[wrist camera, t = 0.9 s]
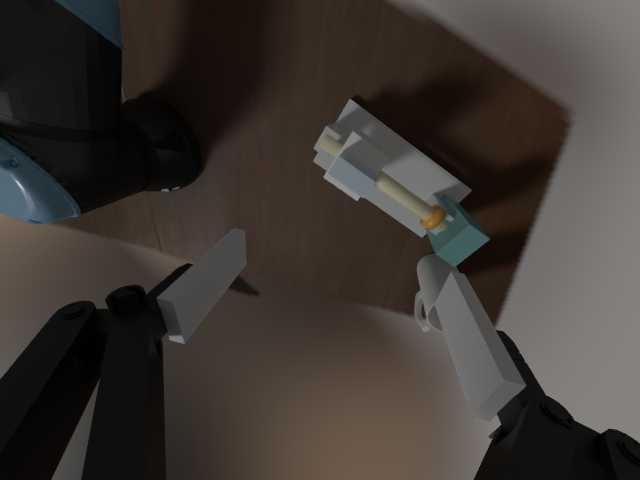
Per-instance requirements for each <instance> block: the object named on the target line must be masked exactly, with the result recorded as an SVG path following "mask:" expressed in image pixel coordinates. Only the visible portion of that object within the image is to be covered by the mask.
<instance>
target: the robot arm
mask: <svg viewBox="0 0 640 480" xmlns="http://www.w3.org/2000/svg"><path fill="white" fill-rule="evenodd" d="M122 50H124V46H123V44H122V42H121V26H120V9H119V5H118V3H117V0H0V212H2V213H3V214H5V215H7V216H9V217H12V218H14V219H17V220H19V221H23V222H27V223H32V224H46V223H51V222H54V221H58V220H61V219H65V218H68V217H76V216H79V215H80V214H83V213H86V212H88V211H91V210H94V209H96V208H99V207H102V206H104V205H107V204H110V203H112V202H115V201H118V200H120V199H123V198H126V197H128V196H131V195H133V194H136V193H139V192H142V191H175V190H179V189H181V188H184V187H186V186H188V185H190V184H191V183H192V182H193V181H194V180H195V178H196V177H197V175H198V172H199V168H200V152H199V147H198V144H197V141H196V138H195V136H194V134H193V132H192V130H191V128H190V127H189V125H188V124H187V122H186V121H185V120H184V119H183V118H182V116H181V115H180V114H179V113H178V112H176V111H175V110H174V109H173V108H171V107H170V106H168V105H167V104H165V103H163V102H161V101H158V100H154V99H144V98H135V99H129V100H126V101H124V102H122V103H121V78H122ZM245 265H246V244H245V230H241V229H236V228H233V229H232V230H231V231H230V232H229V233H228V234H227V235H226V236H225V237H223V238H222V239H221V240H220V241H219V242H218V243H217V244H216V245H215V246H213V247H212V248H211V249H210V250H209V251H208V252H207V253H206V254H205V255H204V256H202V257H201V258H200V259H199V260H198V261H197V262H196V263H195V264H194V265H193V264H189V263H187V264H185V265H183V266H181V267H179V268H177V269H176V270H175V271H173V273H171V275H169V276H168V277H166V278H165V280H163V281H162V282H161V283H159V284H158V285H157V286H156V287H155V288H153V289H152V290H151V291H150V292H149V293H148V294H146V293H145V291H144V288H143V287H141V286H138V285H130V286H124V287H121V288H118V289H117V290H115V291H113V292H112V293H110V294H109V295H108V296H107V298H106V300H105V301H106V304H107V306H108V308H109V309H96V307H95V305H94V303H93V302H90V301H79V302H74V303H71V304H69V305H67V306H64V307H63V308H61V309H59V310H58V311H57V312H56V313H55V314H53V316H52V317H51V318H50V319H49V321H48V322H47V323H46V324H45V326H44V327H43V328H42V329H41V330H40V332H39V333H38V334H37V335H36V337H35V338H34V339H33V340H32V341H31V343H30V344H29V345H28V346H27V347H26V349H25V350H24V351H23V352H22V354H21V355H20V356H19V357H18V359H17V360H16V361H15V362H14V364H13V365H12V366H11V367H10V368H9V370H8V371H7V372H6V373H5V374H4V376H3V377H2V378H1V379H0V480H51V479H52V477H53V475H54V473H55V470H56V468H57V466H58V464H59V462H60V460H61V458H62V456H63V453H64V452H65V450H66V447H67V445H68V443H69V441H70V439H71V437H72V435H73V433H74V431H75V429H76V427H77V425H78V422H79V420H80V418H81V416H82V414H83V412H84V410H85V408H86V405H87V404H88V402H89V399H90V397H91V395H92V393H93V391H94V389H95V387H96V385H97V382H98V381H99V379H100V382H99V387H98V392H97V397H96V403H95V408H94V413H93V419H92V424H91V430H90V436H89V441H88V446H87V451H86V457H85V463H84V468H83V474H82V479H81V480H166V453H165V417H164V416H165V415H164V376H163V342H162V340H161V338H162V337H163V336H164V335H165V334H166V333H168V336H169V339H170V340H172V341H176V342H180V343H184V344H185V343H186V341H187V340H188V338H189V337H190V336H191V335H192V334H193V332H194V331H195V330H196V328H197V327H198V326H199V324H200V323H201V322H202V321H203V319H204V318H205V317H206V315H207V314H208V313H209V311H210V310H211V309H212V307H213V306H214V305H215V304H216V302H217V301H218V300H219V299H220V297H221V296H222V295H223V294H224V292H225V291H226V290H227V288H228V287H229V286H230V285H231V283H232V282H233V281H234V279H235V278H236V277H237V276H238V274H239V273H240V272H241V270H242V269H243V268H244V267H245ZM435 307H436V310H437V313H438V316H439V319H440V323H441V326H442V329H443V332H444V335H445V338H446V341H447V344H448V347H449V350H450V354H451V357H452V359H453V363H454V366H455V369H456V372H457V375H458V378H459V381H460V385H461V388H462V390H463V394H464V397H465V400H466V403H467V406H468V409H469V412H470V415H471V417H475V418H479V419H482V420H486V421H491V419H493V418H494V417H495V416H496V415H498V417H499V420H500V422H501V425H500V426H499V427H498V428H497V429H496V430H495V431H494V432H493V433H492V434H491V435H490V436H489V438H490V439H492V438H493V439H492V441H491V443H490V445H489V448H488V450H487V452H486V454H485V456H484V458H483V461H482V463H481V465H480V467H479V469H478V471H477V474H476V476H475V478H474V480H640V443H638V442H637V441H636V440H634V439H633V438H631V437H630V436H628V435H627V434H625V433H622V432H620V431H618V430H615V429H608V430H606V431H605V432H603V433H601V434H600V433H598V432H596V431H594V430H592V429H590V428H588V427H586V426H584V425H582V424H580V423H578V422H576V421H574V419H573V417H572V416H571V415H570V413H569V412H568V411H567V410H566V409H565V408H564V407H563V406H562V405H561V404H559V403H558V402H557V401H555V400H554V399H552V398H550V397H549V396H546V395H545V393H544V391H543V390H542V388H541V387H540V385H539V383H538V382H537V380H536V378H535V377H534V375H533V373H532V371H531V370H530V368H529V367H528V365H527V363H525V362H524V361H525V360H524V358H523V357H522V355H521V354H520V353H519V350H518V348H517V347H516V345H515V343H514V342H513V341H512V340H511V339H510V338H509V337H508V336H507V335H506V334H505V333H504V332H503V331H499V330H495V328H494V326H493V325H492V323H491V321H490V319H489V317H488V316H487V314H486V312H485V310H484V308H483V307H482V305H481V303H480V301H479V299H478V298H477V296H476V294H475V292H474V290H473V289H472V287H471V285H470V283H469V281H468V280H467V278H466V276H465V274H462V273H457V272H452V271H451V272H450V274H449V276H448V278H447V280H446V282H445V284H444V286H443V288H442V290H441V292H440V294H439V296H438V298H437V300H436V302H435Z"/></svg>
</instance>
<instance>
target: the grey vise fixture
mask: <svg viewBox="0 0 640 480" xmlns="http://www.w3.org/2000/svg"><path fill="white" fill-rule="evenodd" d="M356 128H358V129H360V130H361V131H363V132H364V133H365V134H367V135H368V136H369V137H371V138H372V139H373V140H375V141H376V142H377V143H379V144H380V145H381V146H383V147H384V148H386V149H387V150H388V152H389V156H390V159H389V161H388V162H387V163H386V165H385V166H384V167H383V168H382V170H381V171H380V172H379V174H378V175H377V176H376V183H375V185H374V186H373V187H372V188H371V190H370V191H369V192H368V193H367V195H366V196H365V198H366V199H368V200H369V201H370V202H372V203H373V204H375V205H376V206H378V207H379V208H380V209H382V210H383V211H385V212H386V213H388V214H389V215H390V216H392V217H393V218H395V219H396V220H398V221H399V222H400V223H402V224H403V225H405V226H406V227H407V228H409V229H410V230H412V231H413V232H415V233H416V234H417V235H419V236H420V237H423V236H424V235H425V234H426V233H427V234H428V236H429V239H430V241H431V244H432V246H433V249H434V251H435V254H436V255H438V256H439V257H441V258H442V259H443V260H445V261H446V262H448V263H449V264H451V265H452V266H453V267H455V266H457V265H458V264H459V263H460V262H462V261H463V260H464V259H466V258H467V257H468V256H469V255H471V254H472V253H473V252H475V251H476V250H477V249H478V248H480V247H481V246H482V245H483V244H485V243H486V242H487V241H489V240H490V238H489V237H488V236H487V235H486V234H485V233H484V231H483V230H482V229H481V228H480V227H479V226H478V225H477V223H476V222H475V221H474V220H473V219H472V218H471V217H470V215H469V214H468V213H467V212H466V211H465V210H464V208H463V207H462V206H461V205H460V204H459V202H460V201H461V200H462V199H464V198H465V197H466V196H467V195H468V194H469V193H470V192H471V191H472V190H471V189H470V188H469V187H467V186H466V185H465V184H463V183H462V182H461V181H459V180H458V179H457V178H455V177H454V176H453V175H451V174H450V173H449V172H447V171H446V170H445V169H443V168H442V167H441V166H439V165H438V164H437V163H435V162H434V161H433V160H431V159H430V158H429V157H427V156H426V155H425V154H423V153H422V152H421V151H419V150H418V149H417V148H415V147H414V146H413V145H411V144H410V143H409V142H407V141H406V140H405V139H403V138H402V137H401V136H399V135H398V134H397V133H395V132H394V131H393V130H391V129H390V128H389V127H387V126H386V125H385V124H383V123H382V122H381V121H379V120H378V119H377V118H375V117H374V116H373V115H371V114H370V113H369V112H367V111H366V110H365V109H363V108H362V107H361V106H359V105H358V104H357V103H355V102H354V101H353V100H351V99H350V100H349V101H348V103H347V105H346V106H345V108H344V110H343V111H342V113H341V115H340V116H339V118H338V120H337V122H336V123H333V124H330V125H328V126H326V127H325V129H324V131H323V133H322V134H321V136H320V138H319V140H318V141H317V143H316V145H315V147H314V149H315V150H316V151H318V154H317V155H316V157H315V159H314V160H313V161H314V162H315V163H316V164H318V165H319V166H321V167H322V168H324V169H325V170H326V171H328V169H329V167H330V166H331V164H332V163H333V161H334V160H335V158H336V157H337V155H338V153H339V152H340V150H341V149H342V147H343V146H344V144H345V143H346V141H347V139H348V138H349V136H350V135H351V133H352V132H353V130H355V129H356Z"/></svg>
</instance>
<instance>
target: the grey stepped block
mask: <svg viewBox="0 0 640 480" xmlns="http://www.w3.org/2000/svg"><path fill="white" fill-rule="evenodd" d="M389 159H390V156H389V152H388V150H387V149H386V148H384V147H383V146H381V145H380V144H379V143H377V142H376V141H375V140H373V139H372V138H371V137H369V136H368V135H367V134H365V133H364V132H363V131H361V130H360V129H358V128H356V129H355V130H353V132H352V133H351V135H350V136H349V138H348V139H347V141H346V143H345V144H344V146H343V147H342V149H341V150H340V152H339V153H338V155H337V157H336V158H335V160H334V161H333V163H332V164H331V166H330V167H329V169H328V171H327V172H326V174H325V175H324V177H323V178H325V179H326V180H328V181H329V182H331V183H332V184H334V185H335V186H336V187H338V188H339V189H341V190H342V191H344V192H345V193H346V194H348V195H349V196H351V197H352V198H354V199H355V200H356V201H358V199H359V198H360V197H362V198H363V199H364V197H365V196H366V195H367V193H368V192H369V191H370V190H371V188H372V187H373V186H374V185H375V183H376V176H377V175H378V174H379V172H380V171H381V170H382V168H383V167H384V166H385V165H386V163H387V162H388V161H389Z"/></svg>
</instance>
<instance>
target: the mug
mask: <svg viewBox="0 0 640 480" xmlns="http://www.w3.org/2000/svg"><path fill="white" fill-rule="evenodd" d="M451 271H452V272H457V273H459V271H458V269H457V267H456V266H455V267H453V266H452V265H451V264H449V263H448V262H446V261H445V260H443V259H442V258H441V257H439V256H438V255H436V254H435V253H433V254H429V255H426V256H424V257H423V258H422V259H421V260H420V261H419V262H418V265H417V274H418V279H419V284H420V288H421V290H420V291H419V292H418V293H417V294H416V298H415V318H416V321H417V322H418V324H419V325H420V326H421V327H422V330H423V331H425V332H428V331H429V330H430V329H431V328H434V329H435V330H437V331H440V332H443V329H442V326H441V323H440V319H439V316H438V313H437V310H436V307H435V302H436V300H437V298H438V296H439V294H440V292H441V290H442V288H443V286H444V284H445V282H446V280H447V278H448V276H449V274H450V272H451ZM422 303H424V308H425V313H426V317H427V318H426V319H425V320H424V319H423V318H422V315H421V307H422ZM443 333H444V332H443Z"/></svg>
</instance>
